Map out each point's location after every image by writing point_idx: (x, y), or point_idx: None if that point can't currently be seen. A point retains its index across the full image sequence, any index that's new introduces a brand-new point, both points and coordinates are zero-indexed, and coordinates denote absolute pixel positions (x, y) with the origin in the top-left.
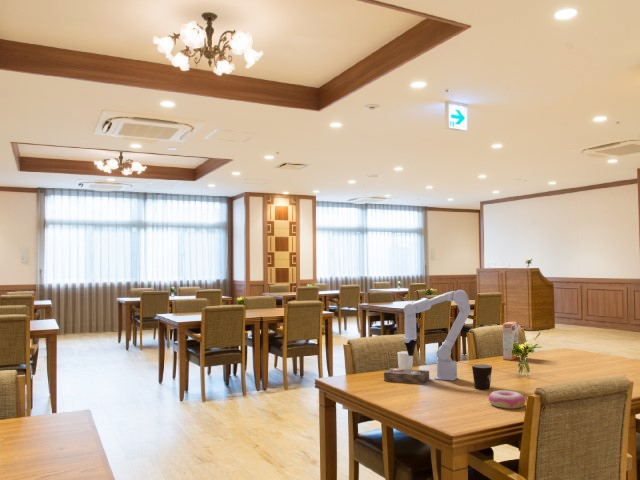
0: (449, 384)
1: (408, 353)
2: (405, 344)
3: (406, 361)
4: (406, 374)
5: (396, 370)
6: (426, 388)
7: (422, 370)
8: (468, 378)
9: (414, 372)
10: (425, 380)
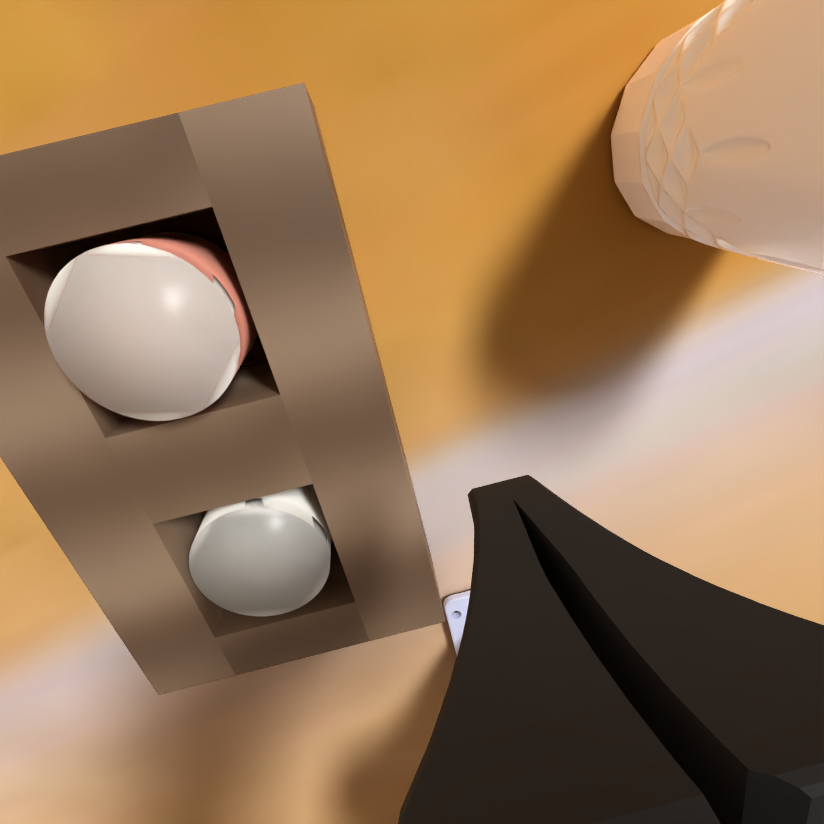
0: (332, 740)
1: (474, 525)
2: (424, 770)
3: (718, 209)
4: (60, 541)
5: (61, 364)
6: (57, 707)
7: (415, 567)
8: None
9: (239, 558)
10: None
